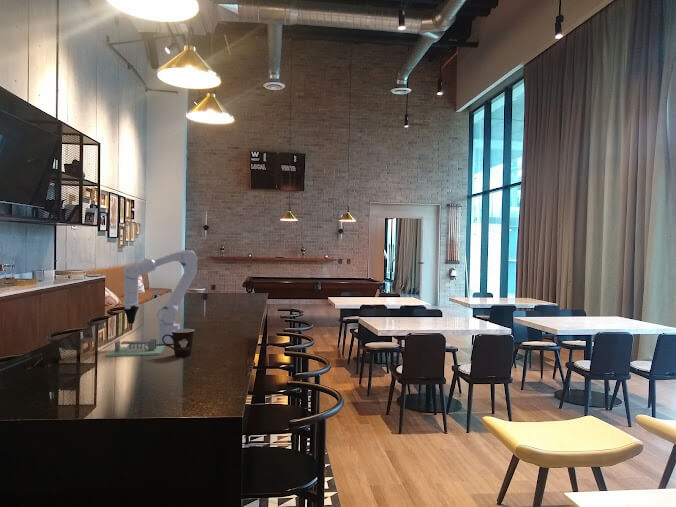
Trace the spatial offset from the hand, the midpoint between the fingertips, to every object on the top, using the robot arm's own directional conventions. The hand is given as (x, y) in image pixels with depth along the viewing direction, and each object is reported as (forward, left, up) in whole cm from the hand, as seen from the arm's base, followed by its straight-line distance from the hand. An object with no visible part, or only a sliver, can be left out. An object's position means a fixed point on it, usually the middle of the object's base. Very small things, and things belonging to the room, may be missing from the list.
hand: (131, 323), depth 209 cm
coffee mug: (-23, +21, -10) cm, 33 cm away
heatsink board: (-5, +12, -10) cm, 17 cm away
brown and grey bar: (-5, +12, -7) cm, 15 cm away
